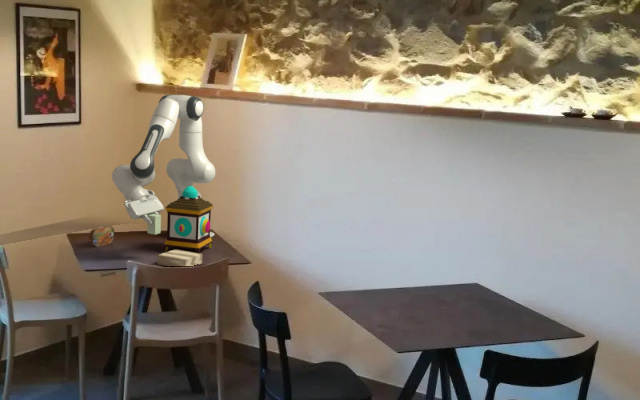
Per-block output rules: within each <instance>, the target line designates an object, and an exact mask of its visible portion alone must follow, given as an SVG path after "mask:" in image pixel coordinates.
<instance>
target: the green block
mask: <svg viewBox="0 0 640 400" xmlns="http://www.w3.org/2000/svg"><path fill="white" fill-rule="evenodd" d="M148 218H149V219H150V220H151V219H152V221H153V222H154V223H153V224H152V225H149V224H148V223H147V234H150V235H158V234H161V231H162V230H161V229H162V228H161V227H162V215H161V214H159V215H158V214H151V215H148Z"/></svg>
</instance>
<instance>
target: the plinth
mask: <svg viewBox="0 0 640 400" xmlns="http://www.w3.org/2000/svg"><path fill="white" fill-rule="evenodd" d="M203 256H204V255H203V253H200V254H199V253H196V252H193V251H186V250H180V249H173V250H169V251H166V252H163V253H160V254H158V255H157V265H158V266H159V265H162V266H165V267H166V266H167V267H170V266H193V267H195V266H194V265H196V266H198V265H200V264H203ZM197 264H198V265H197Z"/></svg>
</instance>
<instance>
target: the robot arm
mask: <svg viewBox="0 0 640 400" xmlns="http://www.w3.org/2000/svg"><path fill="white" fill-rule="evenodd" d="M204 106H205V105H204V102H203V101H202V98H199V97H198V96H191V95H186V94H165V95H163V96H162V97H160V99H159V101H158V104H157V106H156V108H155V110H154V111H153V114H152V116H151V119H150V122H149V124H148V130H147V135H146V137H145V138H144V141H143V143H142V147H141V149H140V150H139V151H138V152H137V154H135V155H134V157H133V158H132V159H131V161H130V164H120V165H118V166H117V167H116V168H115V169H114V170H113V171H112V173H111V178H112V182H113V183H114V185H115V187H116V188H117V189H118V191H119V192H120V193H122V195H123V198H124V199H125V200H124V202H123V205H124V207H125V210H126V212H127V213H128V215H129V217H130V218H131V219H132V220H134V221H135V220H139V219H142V220H143V221H144V222H145V223H147V225H148V224H149V225H152V224H153V223H154V222H153V221H152V219H151V220H150V219H149V218H148V215H151V214H158V215H160V214H161V213H162V212H163V211H164V210H165V207H164V205H163V204H162V202H161V200H160V199H159V198H158V197H157V195H156V193H155V192H154V191H153V190H148V189H146V188H144V187H145V186H147V185H149V184H151V183H153V182H154V180H155V178H156V169H155V155H156V153H157V150H158V148H159V145H160V143H161V142H162V141H166V140H168V139H170V137H171V136H172V135H173V132H174V130H175V127H176V125H177V121H178V119H179V129H178V134H179V135H178V138H179V139H178V144H179V145H178V147H179V148H180V150H182V151H183V153H185V154H186V156H187V158H181V157H179V158H172V159H170V160H169V161H168V162H167V164H166V168H165V170H166V174H167V176H168V177H169V178H170V180H171V181H172V182H173V184H174V186H175V189H176V191H177V200H178V199H179V198H180V196H182V193H183V190H184V189H185V188H186V187H188V186H192V187H194V188H195V189H196V187H195V186H194V183H195V184H209V183H212V181H213V180H214V179H215V177H216V168H215V165H214V164H213V163H212V162H211V161H210V160H209V159H208V157H207V155H206V153H205V148H204V146H203V145H204V141H203V119H202V115H203V114H204V111H205V107H204ZM197 192H198V196H200V198H202V194H201V193H200V191H199V190H197ZM214 236H215V233H214V232H212V231H210V237H211V238H213V237H214Z"/></svg>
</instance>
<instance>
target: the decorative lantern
mask: <svg viewBox="0 0 640 400" xmlns="http://www.w3.org/2000/svg"><path fill="white" fill-rule="evenodd" d="M194 187H195V186H194ZM194 187H192V186H188V187H186V188H185V189H184V190H183V193H182V196H180V198H179V199H178V198H177V199H176V200H174V201H171V202H170V203H168V204H167V205H166V206H165V207H164V209H165V210H166V212H167V219H166V220H167V225H166V226H167V227H166V239H165V241H164V243H163V252H164V253H166V252H168V247H170V248H180V249H189V250H194V251H195V253H199V254H201V250H202V249H203V248H205V247H207V246H208V249H212V247H213V240H212V237H210V232H211V215H212V214H211V212H212V209H213V207H214V205H213V204H212V203H211V202H210V201H209V200H205V199H204V198H202V197H201V198H200V196H198V192H197V191H198V189H196V187H195V188H194Z"/></svg>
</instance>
